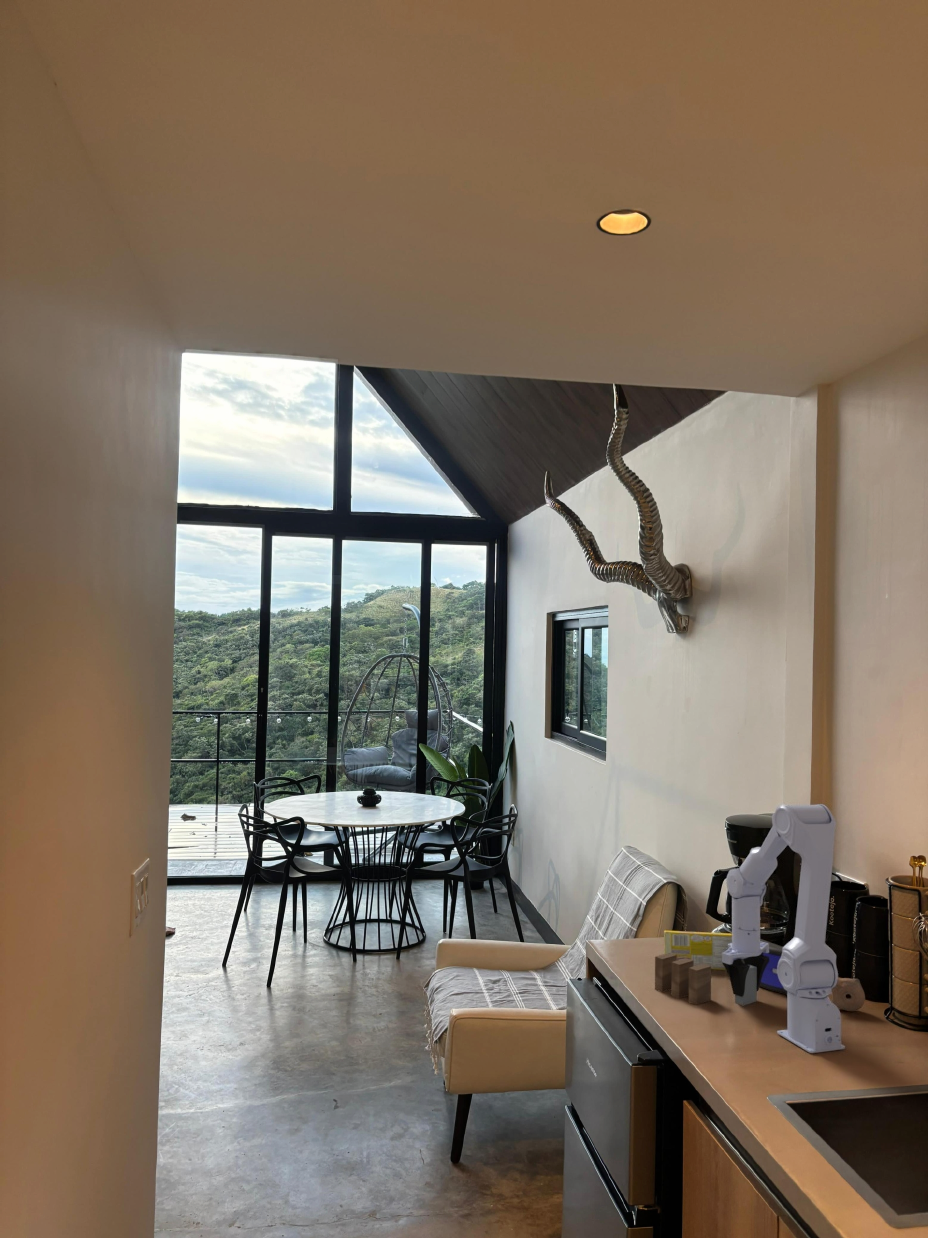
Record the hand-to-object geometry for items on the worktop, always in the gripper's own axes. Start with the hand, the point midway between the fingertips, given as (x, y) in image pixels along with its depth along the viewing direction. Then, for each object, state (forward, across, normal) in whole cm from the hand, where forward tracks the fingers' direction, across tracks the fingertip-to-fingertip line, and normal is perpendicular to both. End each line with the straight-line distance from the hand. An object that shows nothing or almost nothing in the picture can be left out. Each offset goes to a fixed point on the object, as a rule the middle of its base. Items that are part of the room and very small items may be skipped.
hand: (745, 992), depth 180 cm
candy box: (+2, -10, -20) cm, 22 cm away
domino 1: (+2, +8, -15) cm, 17 cm away
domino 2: (+2, +8, -10) cm, 13 cm away
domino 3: (+2, +8, -6) cm, 10 cm away
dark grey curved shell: (+2, -14, -3) cm, 15 cm away
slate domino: (+2, 0, 0) cm, 2 cm away
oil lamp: (+2, -13, +14) cm, 19 cm away
